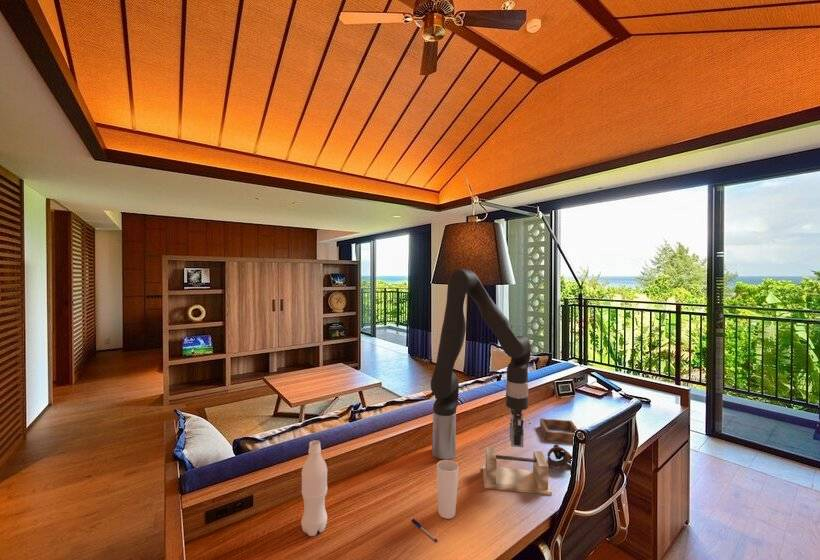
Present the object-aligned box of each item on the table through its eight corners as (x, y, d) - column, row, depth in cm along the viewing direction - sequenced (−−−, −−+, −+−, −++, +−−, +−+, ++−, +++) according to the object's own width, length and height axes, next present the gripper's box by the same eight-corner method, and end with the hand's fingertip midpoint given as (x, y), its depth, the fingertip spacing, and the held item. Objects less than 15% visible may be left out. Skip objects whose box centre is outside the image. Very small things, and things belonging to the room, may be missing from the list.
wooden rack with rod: (484, 487, 120) (484, 462, 120) (482, 468, 132) (483, 444, 132) (551, 495, 117) (552, 468, 116) (543, 474, 128) (544, 450, 128)
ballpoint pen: (410, 521, 104) (410, 518, 104) (413, 520, 104) (413, 517, 104) (436, 543, 96) (436, 539, 96) (438, 541, 96) (438, 537, 96)
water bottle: (329, 520, 104) (330, 436, 103) (324, 538, 96) (324, 449, 96) (304, 520, 103) (305, 436, 103) (298, 539, 96) (298, 449, 95)
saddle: (511, 446, 122) (511, 428, 122) (509, 439, 127) (509, 422, 126) (523, 447, 121) (523, 429, 121) (521, 440, 126) (521, 423, 126)
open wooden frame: (546, 440, 154) (546, 431, 154) (539, 426, 168) (539, 418, 168) (581, 443, 152) (581, 434, 152) (571, 429, 166) (571, 420, 166)
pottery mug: (581, 475, 129) (573, 458, 127) (556, 484, 131) (548, 467, 129) (568, 450, 141) (561, 435, 139) (545, 459, 142) (538, 443, 140)
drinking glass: (443, 503, 112) (444, 456, 111) (462, 512, 108) (463, 464, 107) (431, 514, 107) (432, 466, 106) (450, 525, 102) (451, 474, 102)
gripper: (503, 386, 131) (502, 431, 131) (508, 400, 117) (507, 450, 117) (524, 387, 130) (523, 432, 130) (531, 401, 116) (530, 452, 116)
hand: (516, 440), depth 124 cm, fingers closed on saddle, 5 cm apart
